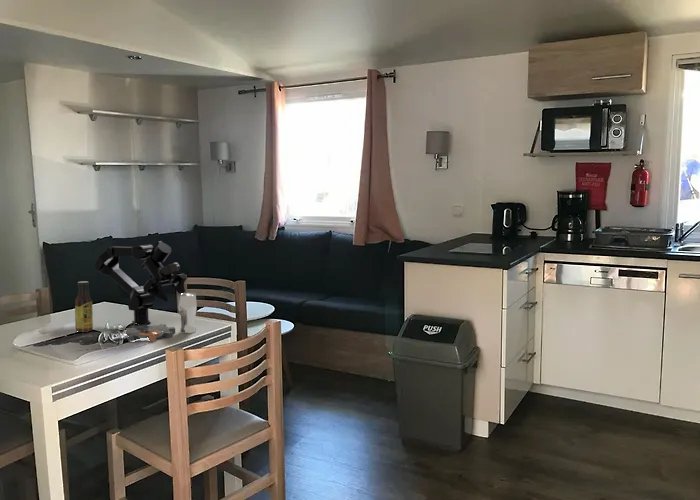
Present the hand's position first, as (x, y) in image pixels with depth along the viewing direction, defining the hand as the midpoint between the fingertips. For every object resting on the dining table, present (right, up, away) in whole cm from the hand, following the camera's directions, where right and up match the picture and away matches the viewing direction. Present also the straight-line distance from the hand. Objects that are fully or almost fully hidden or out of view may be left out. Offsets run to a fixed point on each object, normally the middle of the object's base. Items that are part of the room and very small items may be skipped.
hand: (176, 299), depth 228 cm
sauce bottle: (-36, -13, -2) cm, 38 cm away
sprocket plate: (-9, -13, -8) cm, 18 cm away
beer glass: (+5, -13, -1) cm, 14 cm away
